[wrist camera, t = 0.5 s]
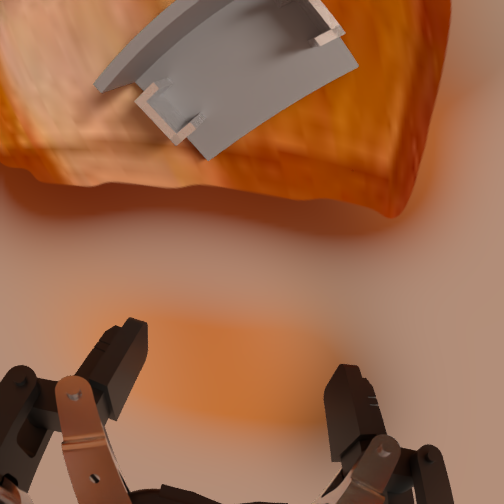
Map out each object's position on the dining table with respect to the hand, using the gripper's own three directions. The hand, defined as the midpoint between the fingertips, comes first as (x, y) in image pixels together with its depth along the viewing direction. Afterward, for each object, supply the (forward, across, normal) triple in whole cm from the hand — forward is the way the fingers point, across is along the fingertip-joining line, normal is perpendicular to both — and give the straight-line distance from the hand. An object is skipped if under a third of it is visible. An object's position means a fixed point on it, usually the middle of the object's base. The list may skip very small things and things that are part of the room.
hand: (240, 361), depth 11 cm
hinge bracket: (+25, +6, -17) cm, 31 cm away
